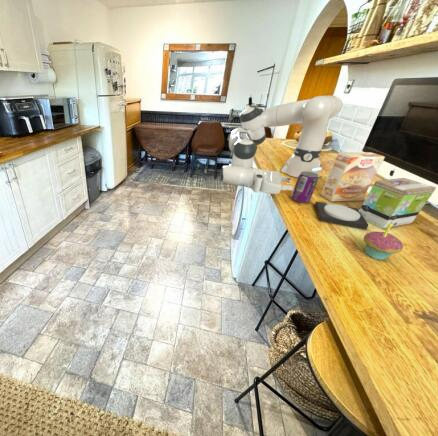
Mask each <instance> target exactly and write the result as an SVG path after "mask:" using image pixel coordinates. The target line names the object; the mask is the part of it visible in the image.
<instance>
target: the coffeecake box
mask: <svg viewBox="0 0 438 436" xmlns="http://www.w3.org/2000/svg"><path fill="white" fill-rule="evenodd" d="M385 158H386V156H384V155H381V154H378V153H374V152H368V151H366V152H364V151H363V152H361V151H358V152H354V151H353V152H351V151H350V152H337V154H336V157H335V160H334V161H333V164H332V166H331V169H330V171H329V173H328V176H327V178H326V181H325V183H324V186H323V187H322V190H321V193H320V196H321V197H323V198H324V199H326V200H327V201H329V202H330V203H333V202H356V201H357V202H358V201H362V202H363V200H364V197H365V196H366V194H367V192H368V190H369V188H370V187H371V184H372V182H373V181H374V179H375V176H376V175H377V173H378V171H379V169H380V167H381V165H382V164H383V162H384V160H385Z"/></svg>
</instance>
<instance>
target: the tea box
mask: <svg viewBox="0 0 438 436" xmlns="http://www.w3.org/2000/svg"><path fill="white" fill-rule="evenodd" d="M436 189H437V187H436V186H434V185H430V184H426V183H423V182H420V181H416V180H412V179H409V178H406V177H398V178H389V179H380V180H375V182H374V184H373V185H372V187H371V189H370V190H369V192H368V194H367V195H366V198H365V199H364V201H363V202H362V205H361V206H360V208H359V209H358V210H359V212H360V213H361V214H362V216H363V217H364V219H365V220H366V222H367V223H370V224H372V225H375V226H377V227H379V228H381V229H387V227H388V225H389V223H391V221H392V226H391V228H392V227H397V226H402V225H404V226H405V225H409V224H412V223H413V222H414V221H415V219H417V216H418V215H419V214H420V212H421V210H422V209H423V208H424V207H425V205H426V204H427V202H428V201H429V199H430V198H431V197H432V195H433V193H434V192H435V190H436Z"/></svg>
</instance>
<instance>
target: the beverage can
mask: <svg viewBox="0 0 438 436" xmlns="http://www.w3.org/2000/svg"><path fill="white" fill-rule="evenodd" d="M318 174H319V173H318ZM318 174H316V173H313V172H307V171H303V172H301V174H300V175H299V176H298V177H297V179H296V182H295V184H294V186H293V190H292V193H291V196H290V197H291V199H292V200H293V201H295V202H297V203H301V204H305V203H309V202H310V201H311V199H312V196H313V194H314V192H315V189H316V187H317V184H318V182H319V177H318Z"/></svg>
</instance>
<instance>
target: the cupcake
mask: <svg viewBox="0 0 438 436" xmlns="http://www.w3.org/2000/svg"><path fill="white" fill-rule="evenodd" d="M391 226H392V221H391V223H389V225H388V227H387V228H385V230H384V231H374V230H373V231H370V232H367V233H366V234H364V236H363V242H364V244H365V250H364V253H365V254H366V255H367V256H369V257H371V258H373V259H375V260H379V261H383V260H386V259H387V258H389V257H391V256H392V255H394V254H399V253H401V252H402V251H403V249H404V245H403V242H402V241H401V240H400V239H399V238H398V237H396V236H395V235H394V234H391V233H389V231H390V230H391V228H392V227H393V226H392V227H391Z"/></svg>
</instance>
